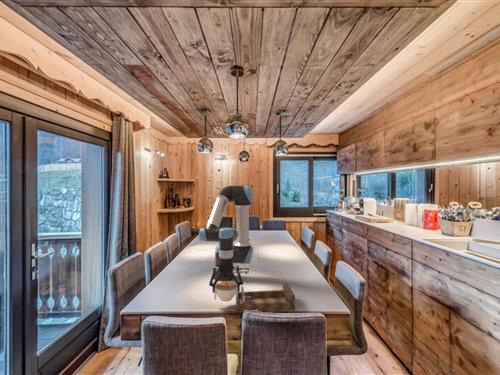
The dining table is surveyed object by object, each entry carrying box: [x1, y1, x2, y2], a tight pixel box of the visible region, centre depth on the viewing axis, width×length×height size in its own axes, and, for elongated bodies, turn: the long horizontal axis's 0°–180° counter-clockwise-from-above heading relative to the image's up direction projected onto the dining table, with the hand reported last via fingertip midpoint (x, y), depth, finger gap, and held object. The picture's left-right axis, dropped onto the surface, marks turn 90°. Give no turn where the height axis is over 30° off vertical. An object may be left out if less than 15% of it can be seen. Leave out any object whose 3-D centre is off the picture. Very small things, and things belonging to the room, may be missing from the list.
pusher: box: [240, 285, 251, 304], centre depth 141 cm, size 5×13×7 cm, turn 6°
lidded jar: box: [216, 280, 237, 302], centre depth 139 cm, size 11×11×9 cm
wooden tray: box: [235, 282, 296, 314], centre depth 142 cm, size 30×16×8 cm, turn 96°
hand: (226, 298), depth 139 cm, fingers closed on lidded jar, 11 cm apart
